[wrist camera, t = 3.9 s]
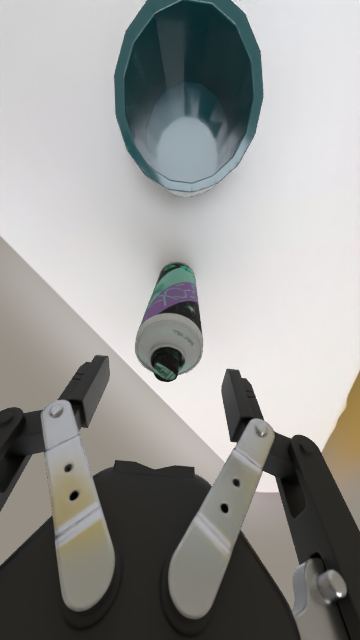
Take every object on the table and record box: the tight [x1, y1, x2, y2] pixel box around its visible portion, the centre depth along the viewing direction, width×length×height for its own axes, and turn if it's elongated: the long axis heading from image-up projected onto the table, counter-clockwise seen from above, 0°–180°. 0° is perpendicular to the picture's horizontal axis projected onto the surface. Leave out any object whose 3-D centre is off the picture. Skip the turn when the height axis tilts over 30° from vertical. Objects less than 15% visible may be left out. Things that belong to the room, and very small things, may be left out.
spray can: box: [135, 262, 203, 382], centre depth 22 cm, size 6×6×20 cm
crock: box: [114, 0, 263, 197], centre depth 19 cm, size 10×10×10 cm
